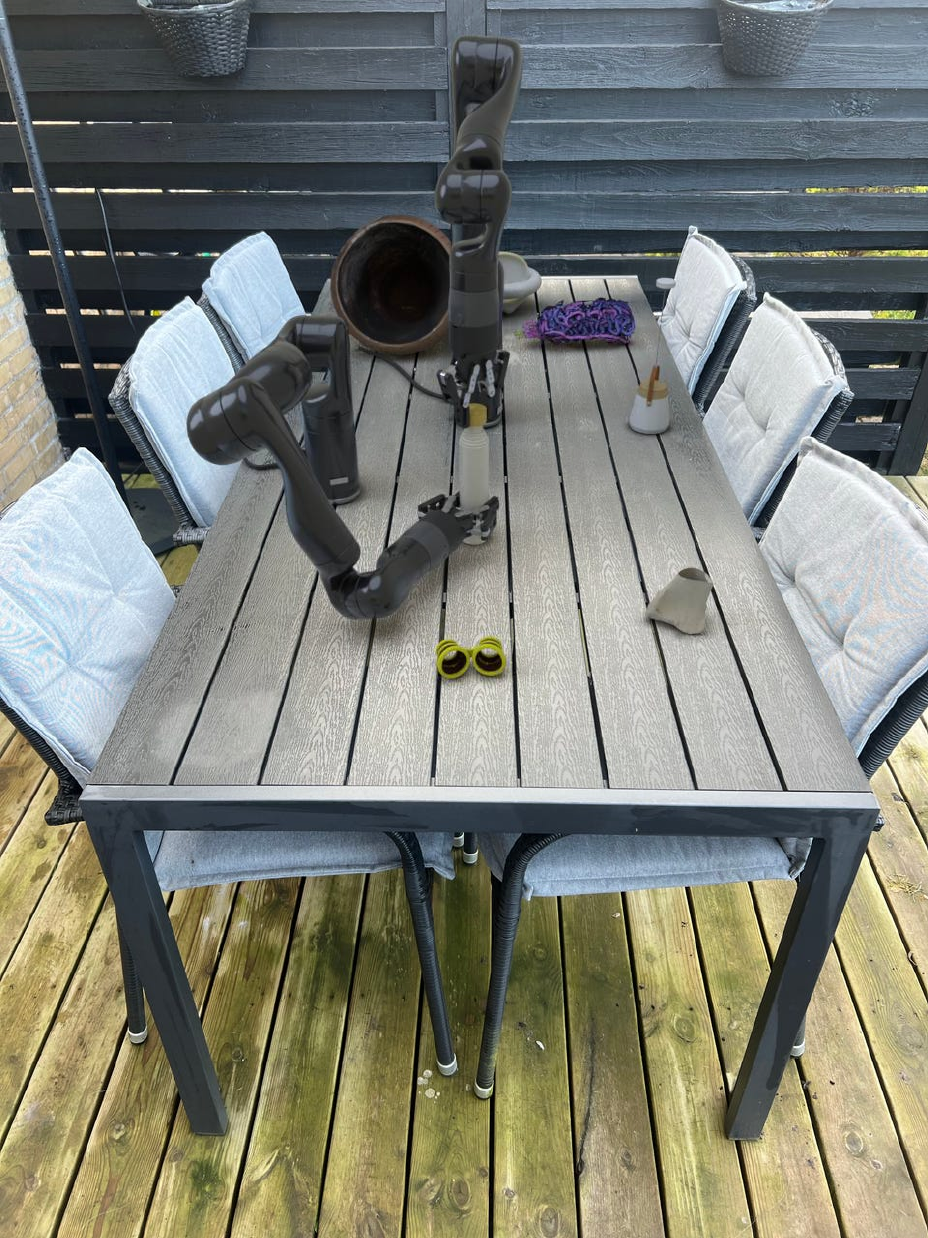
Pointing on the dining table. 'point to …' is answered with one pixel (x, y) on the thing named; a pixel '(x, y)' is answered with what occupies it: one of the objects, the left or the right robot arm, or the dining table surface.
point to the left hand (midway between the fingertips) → (482, 496)
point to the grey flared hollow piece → (683, 601)
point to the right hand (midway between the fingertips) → (474, 421)
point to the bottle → (474, 472)
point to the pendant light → (652, 393)
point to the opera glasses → (462, 658)
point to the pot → (394, 284)
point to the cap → (477, 415)
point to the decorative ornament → (582, 322)
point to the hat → (517, 280)
